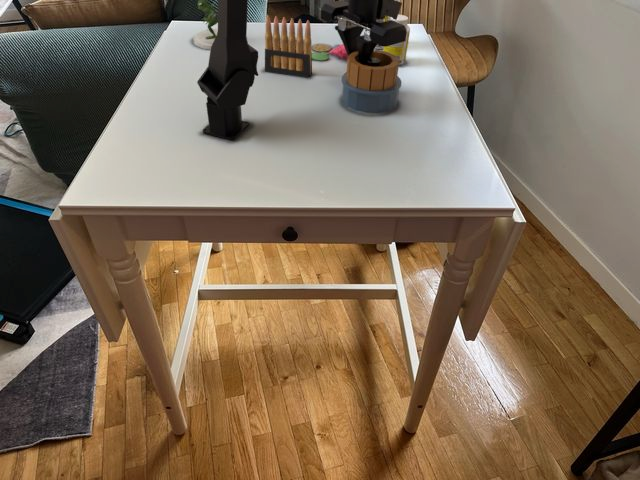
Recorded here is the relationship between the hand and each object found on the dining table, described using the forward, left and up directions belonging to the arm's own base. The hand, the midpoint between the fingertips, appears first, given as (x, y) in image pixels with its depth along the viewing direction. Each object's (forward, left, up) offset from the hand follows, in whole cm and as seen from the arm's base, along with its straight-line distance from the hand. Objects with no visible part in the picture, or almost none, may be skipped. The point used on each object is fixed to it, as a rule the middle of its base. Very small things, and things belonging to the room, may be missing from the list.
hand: (358, 66), depth 98 cm
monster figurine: (+14, +41, -6) cm, 44 cm away
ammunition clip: (+4, +17, -6) cm, 19 cm away
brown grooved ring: (-2, -4, -1) cm, 4 cm away
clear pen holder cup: (+30, +3, -6) cm, 31 cm away
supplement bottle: (+21, -3, -6) cm, 22 cm away
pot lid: (-2, -4, -2) cm, 5 cm away
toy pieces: (+19, +12, -6) cm, 23 cm away
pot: (-2, -4, -6) cm, 7 cm away
